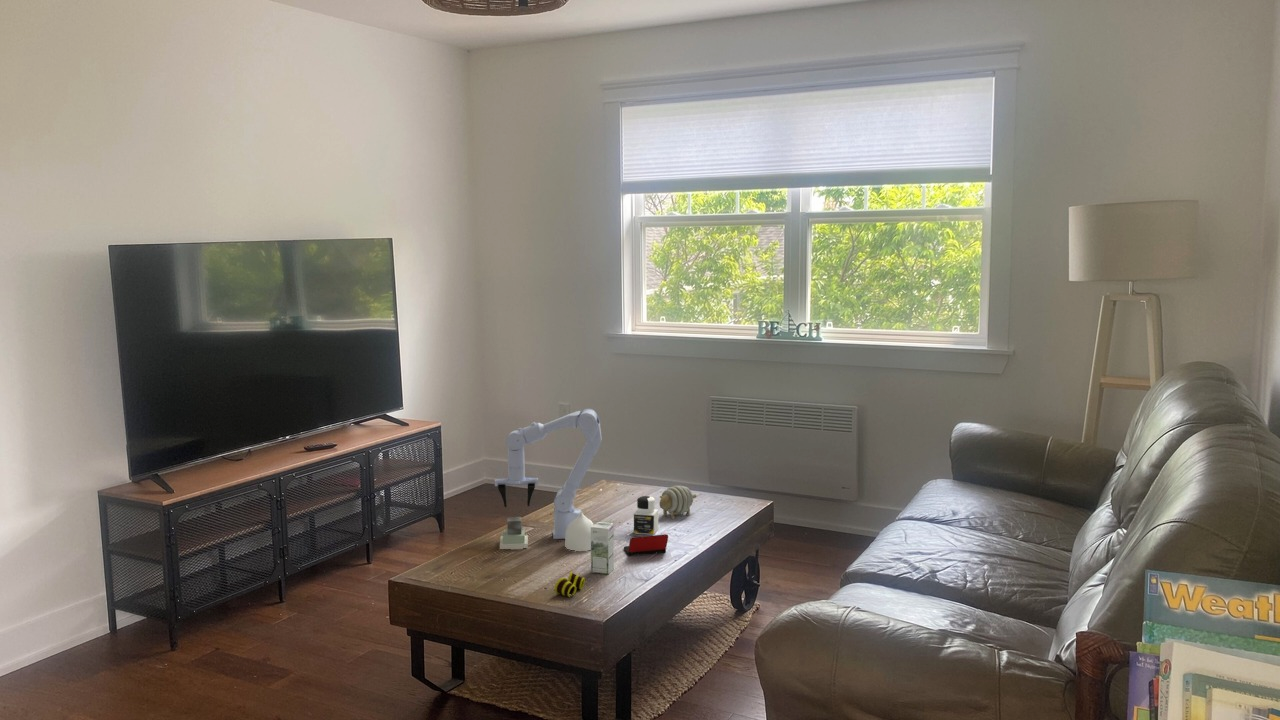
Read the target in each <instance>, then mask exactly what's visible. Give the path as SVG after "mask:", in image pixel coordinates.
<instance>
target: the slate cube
mask: <svg viewBox="0 0 1280 720" xmlns="http://www.w3.org/2000/svg"><path fill="white" fill-rule="evenodd" d="M506 523H507V525H506V526H507V527H506V528H507V529H506V530H507V533H508V535H515V534H521V532H522V528H523V526H522V525H523V524H522V516H514V517H513V516H511V517H507V520H506Z"/></svg>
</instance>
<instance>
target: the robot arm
mask: <svg viewBox="0 0 1280 720" xmlns="http://www.w3.org/2000/svg"><path fill="white" fill-rule="evenodd" d="M568 427H570V428H573V429H577V428H579V430H580V431H581V432H582V433H583V435H584V437H585V440H586V442H585V444H584V446H583V448H582V450H581V452H580V454H579V456H578V458H577V460H576V462H575V464H574V466H573V468H572V470H571V471H570V473H569V476H568V477H567V479H566V481H565V483H563V484H564V485H562V487H561V488H560V489H558V491H557V492H556V494H555V498H554V500H553V505H554V508H553V520H554V521H553V527H554V528H553V530H552V537H553V540H558V539H559V540H560V539H564V540H565V534H566V530H567V527H568V526H569V524H570V523H571V522H572V521H573V520H575V519H576V518H577V517H578V516H579V514H580V512H581V511H582V509H579V508H576V506H575V505H574V502H575V501H574V500H575V496H576V494H577V491H578V489H579V487H580V485H581V482H582V481H583V479H584V477H585V475H586V473H587V472H588V469H589V468H590V466H591V464H592V462H593V460H594V457H595V455H596V454H597V452H598V450H599V448H600V446H601V444H602V441H603V439H602V438H603V437H602V429H601V420H600V418H599V416H598V414H597V412H596V411H595V410H594V409H592V408H584V409H583V410H576V411H574V412H571V413H569V414H566V415H564V416H561V417H559V418H556V419H554V420H552V421H548V422H545V423H544V424H543V423H542V422H536V421H533V422H531V423H530V425H528V426H525V427H523V428H522V427H519V428H518V429H517V430H516V429H515V430H512V431H511V432H510V433H509V434H508V436H507V437H506V440H505V444H506V446H507V477H506V478H498V479H497V478H496V479H494V487H497V489H498V491H499V493H500V495H501V498H502V501H503V506H504V508H506V507H507V505H508V503H507V501H508V500H507V486H521V485H522V486H524V485H525V486H527V507H530V504H531V499H532V495H533V493H534V491H535V488H536V485H537V486H538V485H539V477H526V468H525V466H526V464H525V463H526V462H525V461H526V460H525V446H528V445H531V444H533V443H535V442H538V441H541V440H543V439H545V438H546V437H547V434H549V433H552V432H556V431H558V430H561V429H565V428H568Z"/></svg>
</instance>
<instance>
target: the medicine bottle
mask: <svg viewBox="0 0 1280 720" xmlns="http://www.w3.org/2000/svg"><path fill="white" fill-rule="evenodd" d="M636 505H637V507H636V508H637V510H635V512H634V513H633V533H634V534H638V535H648V536H654V535H656V534H655V533H657V531H658V529H659V509H658V508H656V506H655V505H656V499H655V498H654V497H653V496H650V495H644V496H643V495H642V496H640V497H637V500H636Z"/></svg>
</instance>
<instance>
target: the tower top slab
mask: <svg viewBox="0 0 1280 720" xmlns="http://www.w3.org/2000/svg"><path fill="white" fill-rule="evenodd" d="M525 535H526V529H525V528H523V529H522V532H521V534H515V535H508V533H507V529H504V530H503V533H502V536H503V544H517V543H525Z"/></svg>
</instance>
